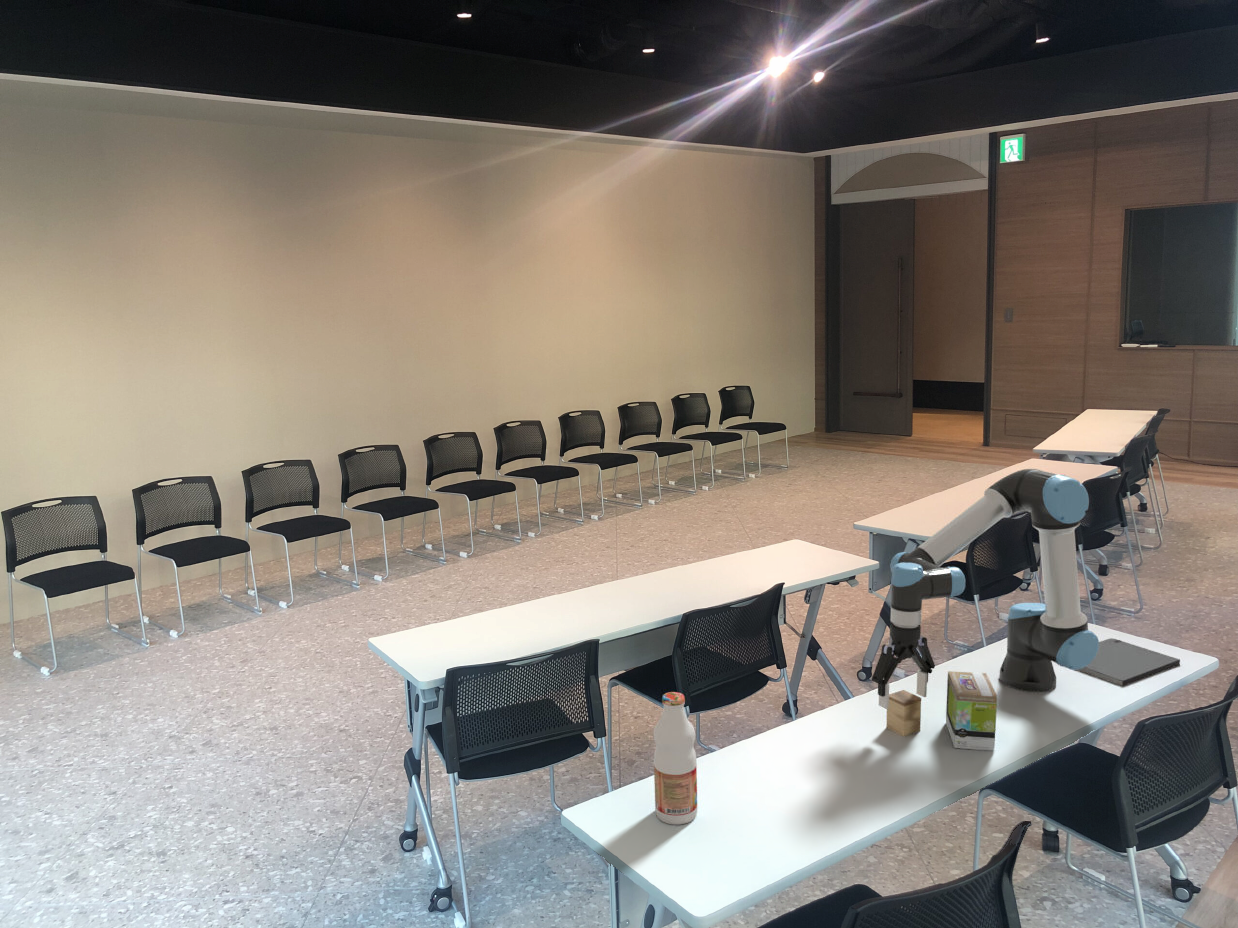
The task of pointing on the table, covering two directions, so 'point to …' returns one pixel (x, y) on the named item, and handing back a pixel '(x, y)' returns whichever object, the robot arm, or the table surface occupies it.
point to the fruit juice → (675, 763)
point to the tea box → (971, 710)
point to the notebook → (1127, 662)
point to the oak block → (904, 713)
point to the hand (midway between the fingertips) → (902, 701)
